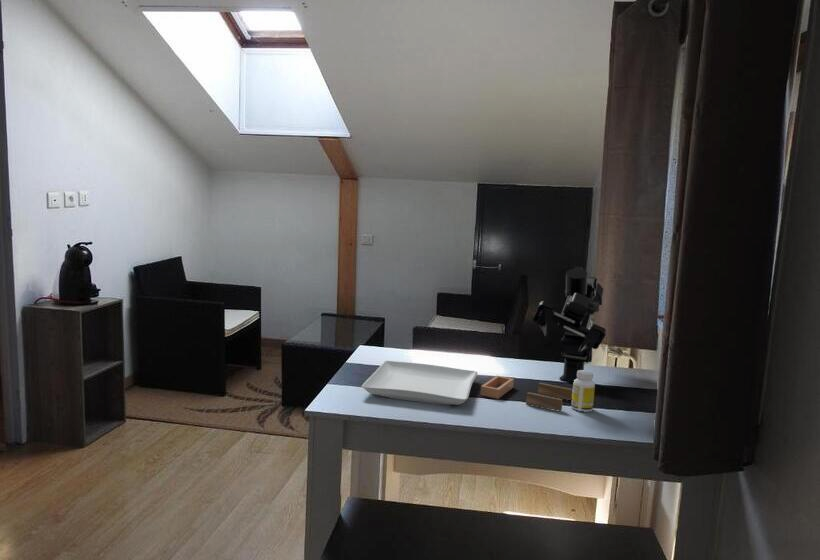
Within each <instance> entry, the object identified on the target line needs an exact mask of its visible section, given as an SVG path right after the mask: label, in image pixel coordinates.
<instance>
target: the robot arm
mask: <svg viewBox="0 0 820 560" xmlns="http://www.w3.org/2000/svg"><path fill="white" fill-rule="evenodd" d="M583 268H584V267H581V266H575V267H574V268H570V269H568V270H566V272H565V282H564V287H563V288H564V289H563V290H564V294H565V297H567V298H566V300H565V303H564V306H563V308H562V311H561V313H559V312H557V311H555V310H554V309H555V307H556V306H555V305H553V304H552V303H548V302H547V301H544V300H542V301H540V302H539V304H538V306H537V308H536V310H535V312H534V315H533V317H532V321H533V322H534V323H535V324H536V325H538V326H539V327H540V329H541V331H542V333H543V334H544V337H548V334H549V333H550V330H551V323H552V321H554V322H556V323H558V324H557V327H559V328H561V329H563V330H565V332H564V335H563V337H561V338H560V341H559V351H558V352H559V353H558V354H559V355H558V356H559V357H558V358H559V360H561V359H562V360H564V365H563V374H562V375H561V376H560V377H559V380H560V379H563V380H562V381H565V380H569V381H568V382H570V381H574V380H575V379H577V378H578V377H577V371H578V370H585V363H586V364H589V363H592V361H593V349H594V350H597V349H599V347H600V345H601V344H602V342H603V340H604V338H605V337H606V334H607V329H606V328H605V327H604V326H603V327H602V326H600V325H598V324H595V323H592V324H591V321H592V317H593V315H594V314H595V313H598V312H599V311H600V309H601V306H603V305H602V301H603V302H604V299H603V293H604V291H605V289H604V287H602V285H601V284H600V283H599V279H598V277H596V276H588V275H589V273H588V271H586V269H583ZM604 294H605V293H604ZM600 305H601V306H600ZM590 324H591V326H590ZM589 327H590V328H589Z"/></svg>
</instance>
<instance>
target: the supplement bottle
mask: <svg viewBox="0 0 820 560" xmlns="http://www.w3.org/2000/svg"><path fill="white" fill-rule="evenodd" d="M577 377H578V378H577V379H575V380H574V382H572V389H573V391H572V400H571V401H570V402H571V405H570V407H571V409H572V408H573V409H572V410H574V409H575V410H574V411H576V410H578V411H577V412H580V411H584V412H583V413H589V412H588V411H590V412H592V411H593V408H594V399H595V389H596V383H595V381H593V378H594V372H593V371H590V370H586V369H584V370H578V371H577Z"/></svg>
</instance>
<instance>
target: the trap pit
mask: <svg viewBox="0 0 820 560" xmlns="http://www.w3.org/2000/svg"><path fill="white" fill-rule="evenodd" d="M514 382H515V378H512V377H506V376H503V375H502V376H501V375H496V376H494V377H492V378H491V379H489V380H488V381H487V382H485V383H484V384H482V385H480V396H483V397H487V398H492V399H497V400H499V399H500V398H501V397H503V396H504V395H506V394H507V393H508V392H509V391H511V390H512V389H513V388H514Z"/></svg>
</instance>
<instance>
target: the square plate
mask: <svg viewBox="0 0 820 560" xmlns="http://www.w3.org/2000/svg"><path fill="white" fill-rule="evenodd" d="M477 376H478V372H477V371H475V370H469V369H463V368H456V367H448V366H443V365H442V366H441V365H434V364H427V363H417V362H407V361H397V360H395V361H393V360H385V361H384V362H382V364H381V365H380V366H379V367H378V368H377V369H376V370H374V372H373V373H372V374H371V375H370V376H369V377H368V378H367V379H366V380H365V381H364V383H363V384H362V385H361V386H360V387H361V388H362V389H364V390H365V392H368V393H370V394H372V395H375V396H383V397H384V396H385V397H384V398H388V397H389V399H396V400H404V401H405V400H406V401H411V402H412V401H413V402H419V403H420V402H421V403H426V404H428V403H429V404H435V405H456V406H457V405H458V406H459V405H461V404H464V403H465V402H466V401H467V400H468V398H469V396H470V393H471V388H472V386H473V384H474V381H475V379H476V378H477Z"/></svg>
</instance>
